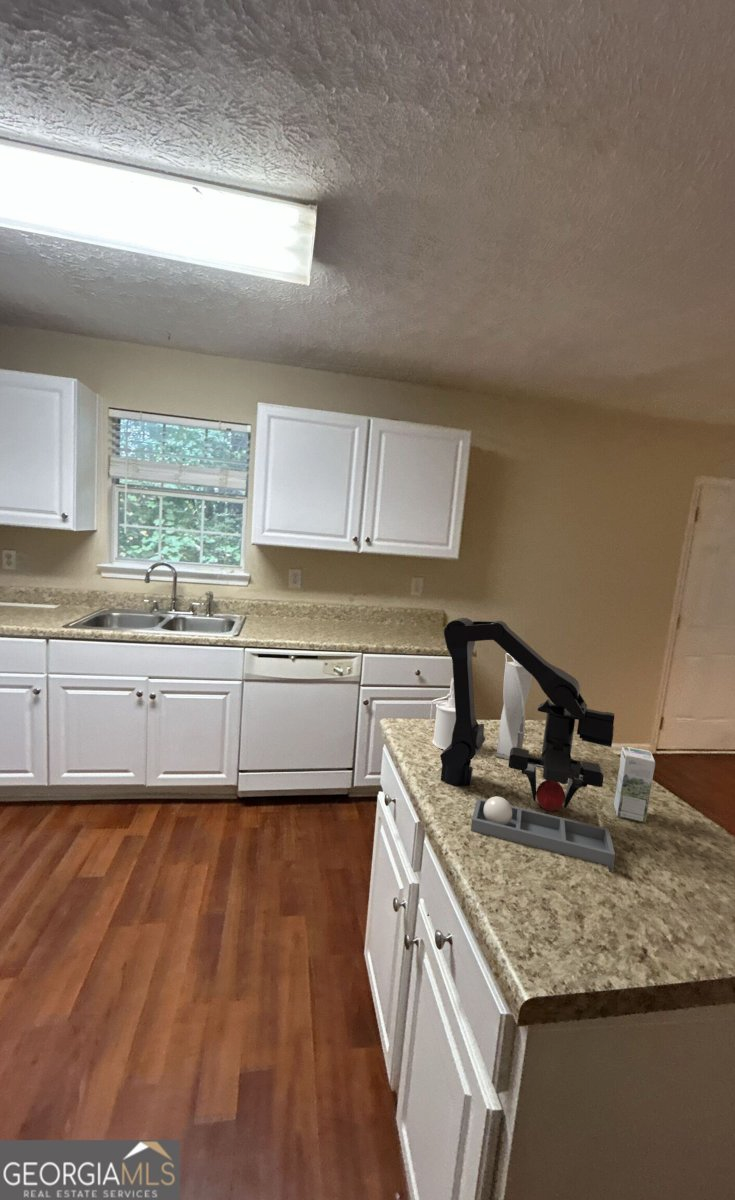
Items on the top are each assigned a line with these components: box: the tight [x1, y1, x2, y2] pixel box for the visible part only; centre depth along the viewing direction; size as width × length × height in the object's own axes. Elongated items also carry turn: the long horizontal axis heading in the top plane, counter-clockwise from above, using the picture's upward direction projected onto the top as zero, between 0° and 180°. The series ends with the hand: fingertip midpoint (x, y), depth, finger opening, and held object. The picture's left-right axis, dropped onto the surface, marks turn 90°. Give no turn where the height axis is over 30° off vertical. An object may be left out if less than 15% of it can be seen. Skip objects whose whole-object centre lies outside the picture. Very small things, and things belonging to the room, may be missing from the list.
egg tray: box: [470, 797, 616, 874], centre depth 98 cm, size 25×9×4 cm, turn 71°
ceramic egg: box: [483, 795, 512, 825], centre depth 101 cm, size 6×6×6 cm
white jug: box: [429, 677, 456, 751], centre depth 141 cm, size 10×9×20 cm
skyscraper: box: [494, 652, 533, 761], centre depth 137 cm, size 8×8×28 cm
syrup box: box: [613, 746, 656, 823], centre depth 110 cm, size 6×6×14 cm
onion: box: [536, 780, 566, 812], centre depth 109 cm, size 6×6×8 cm
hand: (549, 803), depth 109 cm, fingers closed on onion, 6 cm apart
